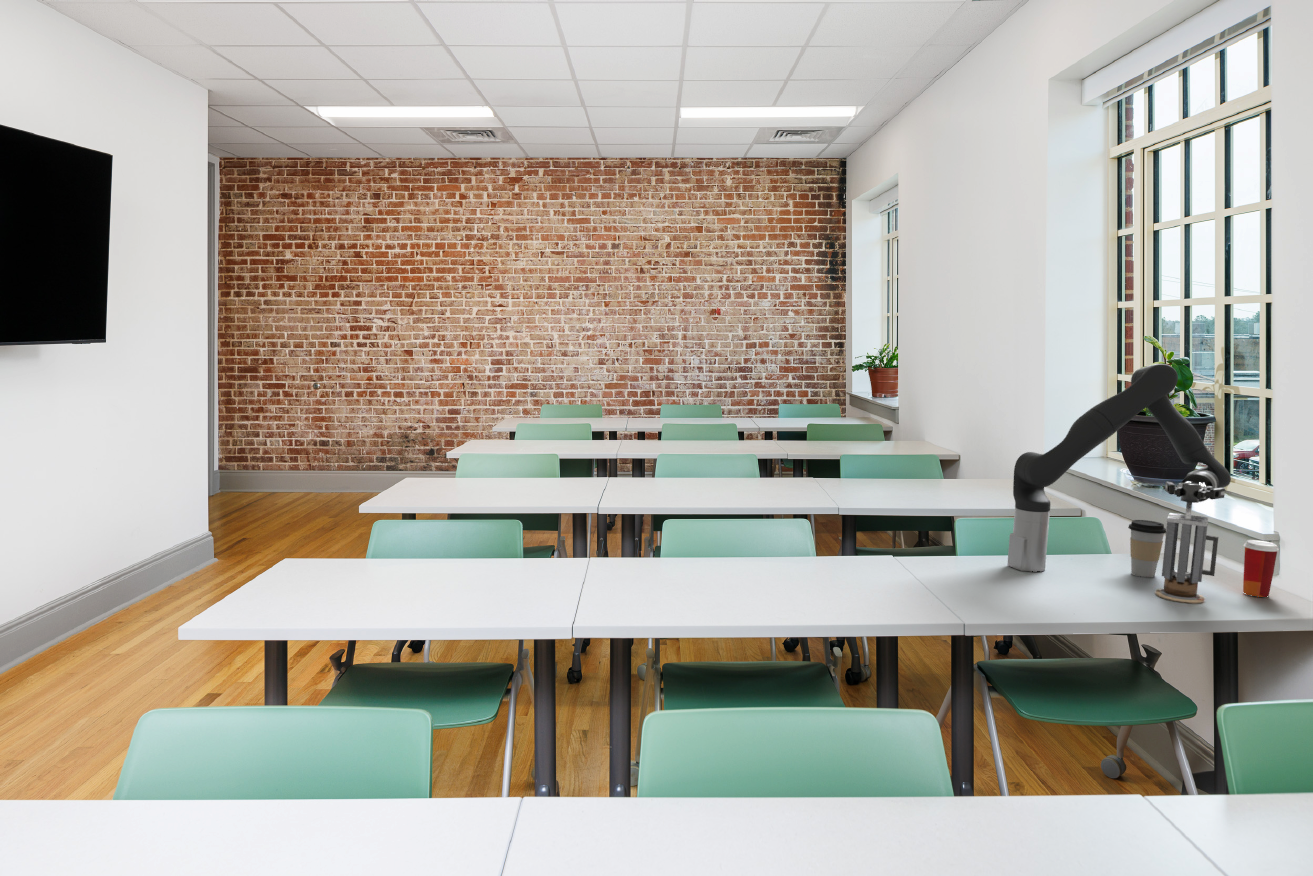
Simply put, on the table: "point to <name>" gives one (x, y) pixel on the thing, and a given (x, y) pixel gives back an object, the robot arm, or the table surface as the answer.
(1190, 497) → the plunger
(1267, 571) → the paper cup
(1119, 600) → the table surface
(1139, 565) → the coffee cup
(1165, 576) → the press frame
